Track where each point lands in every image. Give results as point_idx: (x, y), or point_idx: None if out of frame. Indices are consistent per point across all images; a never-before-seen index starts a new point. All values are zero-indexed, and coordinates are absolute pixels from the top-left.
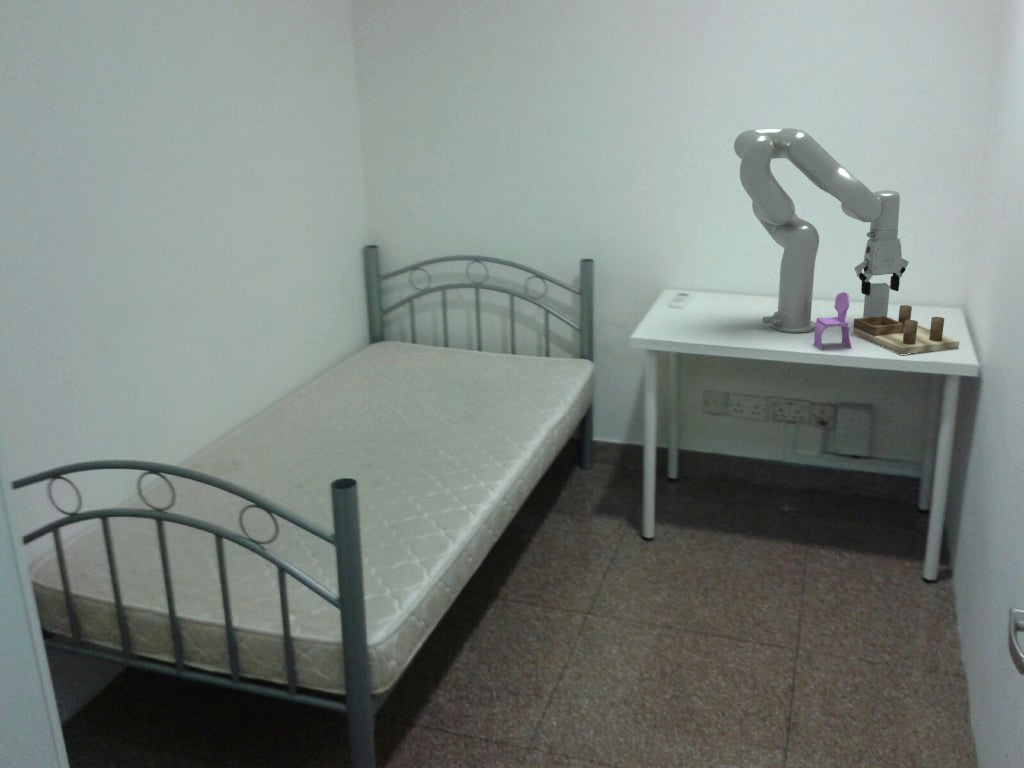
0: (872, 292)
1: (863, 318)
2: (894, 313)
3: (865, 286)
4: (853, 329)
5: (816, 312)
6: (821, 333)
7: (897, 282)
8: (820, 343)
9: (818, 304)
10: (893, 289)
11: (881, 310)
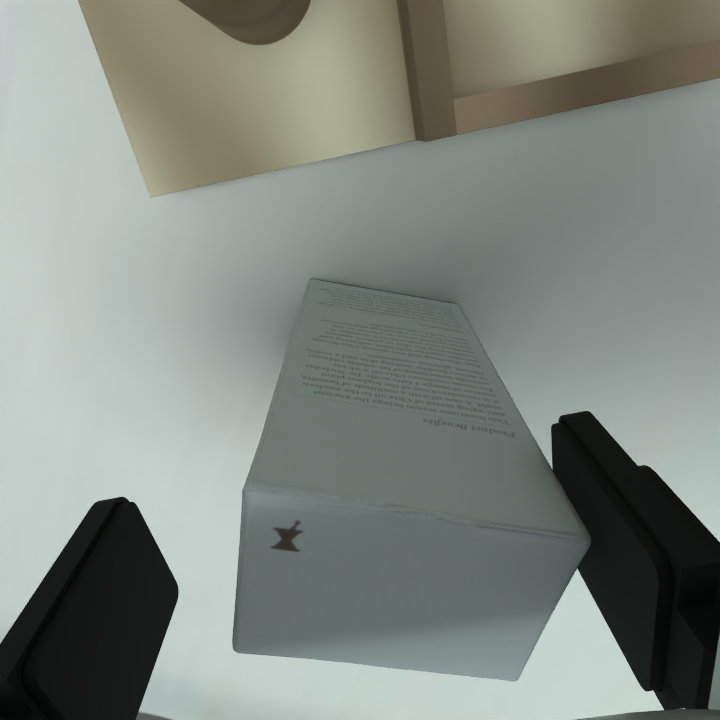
0: (501, 461)
1: (716, 50)
2: (150, 529)
3: (687, 522)
4: None
5: (589, 606)
6: None
7: (59, 603)
8: None
9: (490, 709)
10: (152, 547)
11: (355, 331)
